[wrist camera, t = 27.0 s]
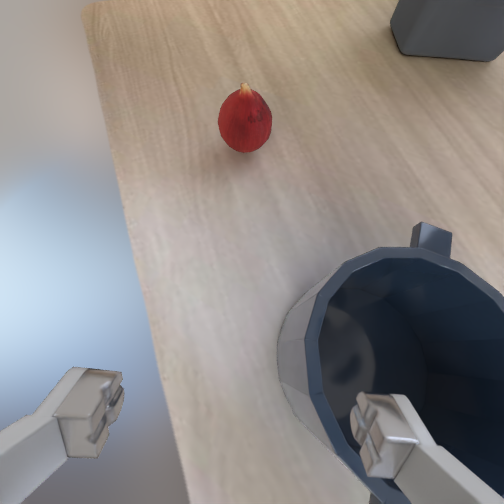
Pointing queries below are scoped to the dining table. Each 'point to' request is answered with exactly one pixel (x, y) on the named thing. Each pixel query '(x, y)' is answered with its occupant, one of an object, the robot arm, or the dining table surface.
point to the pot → (401, 354)
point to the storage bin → (450, 28)
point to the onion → (245, 120)
